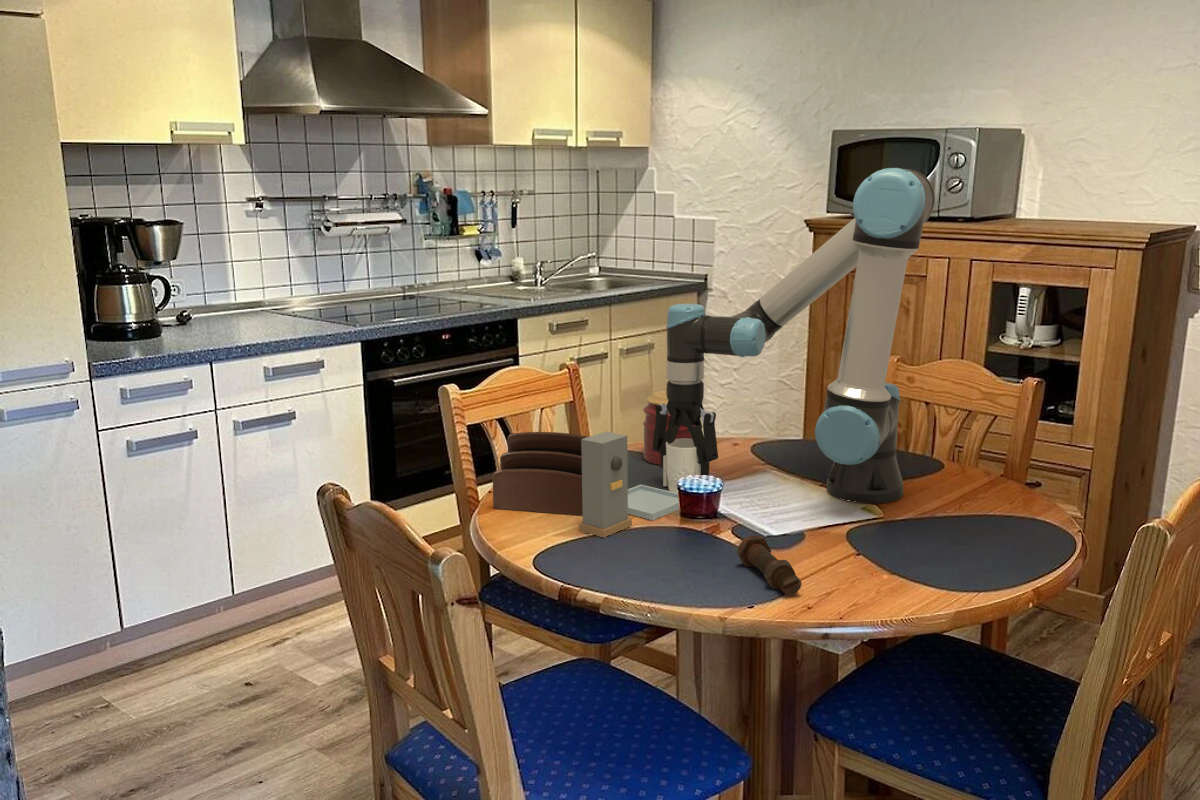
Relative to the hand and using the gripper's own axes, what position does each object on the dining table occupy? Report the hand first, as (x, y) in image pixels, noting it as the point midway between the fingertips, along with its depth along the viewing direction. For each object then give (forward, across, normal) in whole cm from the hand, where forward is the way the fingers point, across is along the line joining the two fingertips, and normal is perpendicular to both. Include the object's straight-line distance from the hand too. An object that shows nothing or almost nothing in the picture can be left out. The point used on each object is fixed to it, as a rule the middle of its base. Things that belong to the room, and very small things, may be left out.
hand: (684, 488), depth 207 cm
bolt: (+1, -38, +30) cm, 49 cm away
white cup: (0, 0, 0) cm, 0 cm away
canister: (+1, +16, -17) cm, 23 cm away
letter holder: (+1, +16, +25) cm, 29 cm away
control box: (0, -2, +28) cm, 29 cm away
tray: (0, 0, +13) cm, 13 cm away
